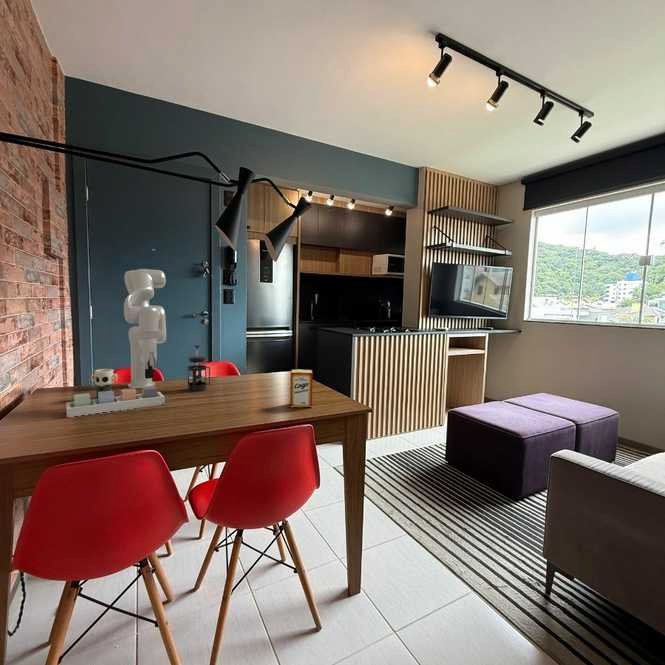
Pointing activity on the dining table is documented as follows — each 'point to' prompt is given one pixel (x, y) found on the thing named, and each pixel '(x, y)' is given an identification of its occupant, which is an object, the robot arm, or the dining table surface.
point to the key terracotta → (128, 394)
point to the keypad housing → (113, 405)
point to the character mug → (103, 379)
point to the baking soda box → (301, 387)
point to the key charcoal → (149, 392)
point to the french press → (198, 385)
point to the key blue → (105, 397)
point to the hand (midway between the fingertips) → (149, 377)
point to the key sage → (81, 399)
